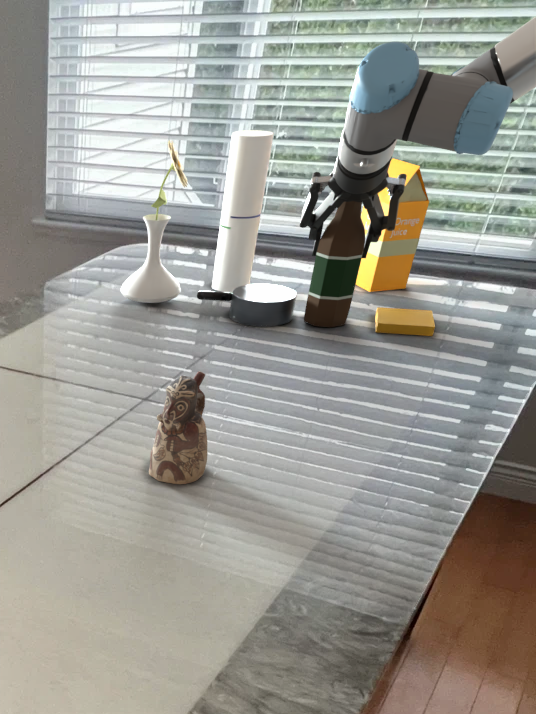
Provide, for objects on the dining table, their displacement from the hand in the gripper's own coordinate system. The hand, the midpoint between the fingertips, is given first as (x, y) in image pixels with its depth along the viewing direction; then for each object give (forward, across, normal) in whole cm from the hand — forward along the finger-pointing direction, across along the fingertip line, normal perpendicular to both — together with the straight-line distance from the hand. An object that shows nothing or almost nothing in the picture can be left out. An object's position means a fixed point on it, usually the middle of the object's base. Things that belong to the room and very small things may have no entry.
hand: (340, 249), depth 143 cm
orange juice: (+23, +9, +8) cm, 26 cm away
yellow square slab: (+6, +13, -10) cm, 17 cm away
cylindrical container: (+18, -18, +2) cm, 26 cm away
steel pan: (+6, -14, -10) cm, 18 cm away
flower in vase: (+11, -32, -5) cm, 34 cm away
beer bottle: (+5, 0, -10) cm, 11 cm away
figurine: (-40, -16, -56) cm, 70 cm away
